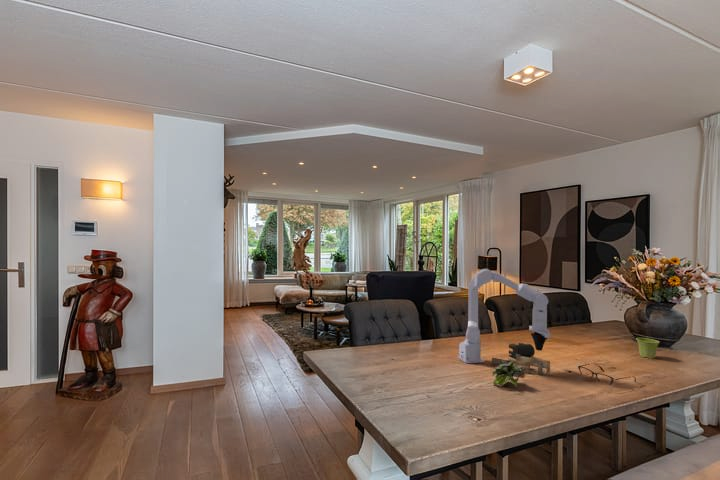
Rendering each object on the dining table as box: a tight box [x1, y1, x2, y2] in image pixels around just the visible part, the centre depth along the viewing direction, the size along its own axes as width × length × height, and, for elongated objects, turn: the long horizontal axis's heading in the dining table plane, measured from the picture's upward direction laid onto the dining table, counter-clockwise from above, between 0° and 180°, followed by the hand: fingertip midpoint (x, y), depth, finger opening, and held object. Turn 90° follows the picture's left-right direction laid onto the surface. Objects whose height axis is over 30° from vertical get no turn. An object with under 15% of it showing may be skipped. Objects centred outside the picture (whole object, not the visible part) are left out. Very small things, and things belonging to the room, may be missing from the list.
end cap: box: [508, 342, 536, 360], centre depth 170 cm, size 10×7×7 cm
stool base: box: [490, 357, 548, 378], centre depth 154 cm, size 22×22×6 cm
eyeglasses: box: [577, 363, 637, 386], centre depth 146 cm, size 16×16×4 cm
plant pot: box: [635, 337, 660, 360], centre depth 178 cm, size 9×9×9 cm
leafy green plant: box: [491, 359, 524, 390], centre depth 134 cm, size 11×11×12 cm
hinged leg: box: [515, 354, 551, 376], centre depth 151 cm, size 14×3×6 cm, turn 58°
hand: (538, 350), depth 154 cm, fingers closed
